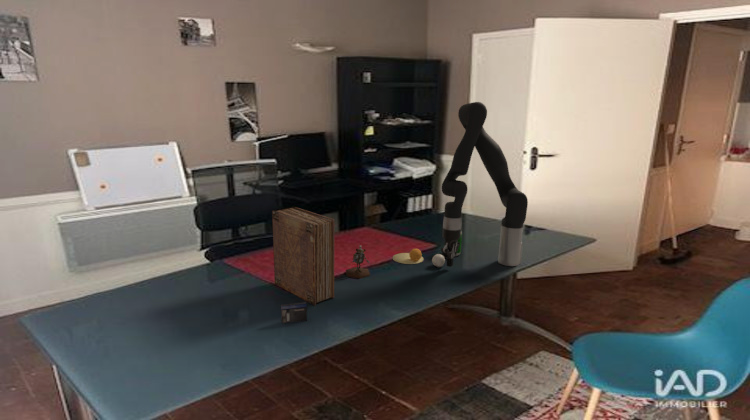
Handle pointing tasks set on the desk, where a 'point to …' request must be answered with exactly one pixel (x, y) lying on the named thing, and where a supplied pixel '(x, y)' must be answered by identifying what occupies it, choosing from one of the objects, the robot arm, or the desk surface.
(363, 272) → the robot figurine
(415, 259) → the orange ball
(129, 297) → the desk surface
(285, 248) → the book
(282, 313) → the mini dv tape
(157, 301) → the desk surface
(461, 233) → the soda can
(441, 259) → the cue ball
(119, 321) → the desk surface
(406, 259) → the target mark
